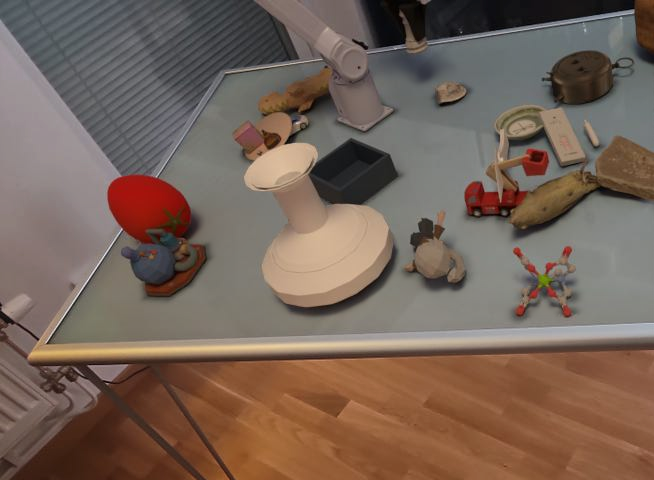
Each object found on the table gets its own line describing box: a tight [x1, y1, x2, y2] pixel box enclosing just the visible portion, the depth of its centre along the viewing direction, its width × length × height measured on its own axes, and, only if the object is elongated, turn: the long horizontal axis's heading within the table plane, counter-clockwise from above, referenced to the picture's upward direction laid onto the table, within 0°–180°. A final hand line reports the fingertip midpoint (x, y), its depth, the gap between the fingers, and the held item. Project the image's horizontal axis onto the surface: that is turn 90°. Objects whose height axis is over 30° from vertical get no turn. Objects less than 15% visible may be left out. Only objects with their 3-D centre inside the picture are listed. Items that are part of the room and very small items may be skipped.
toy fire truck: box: [463, 147, 550, 218], centre depth 91 cm, size 3×14×10 cm, turn 75°
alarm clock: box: [540, 49, 635, 105], centre depth 111 cm, size 11×5×16 cm
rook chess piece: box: [399, 9, 429, 56], centre depth 117 cm, size 4×4×8 cm
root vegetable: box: [507, 159, 602, 230], centre depth 91 cm, size 5×20×5 cm
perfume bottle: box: [231, 112, 292, 162], centre depth 122 cm, size 12×12×4 cm
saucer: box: [493, 104, 547, 141], centre depth 107 cm, size 10×10×2 cm
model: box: [120, 229, 207, 297], centre depth 101 cm, size 12×9×9 cm
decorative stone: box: [594, 134, 654, 202], centre depth 90 cm, size 10×6×15 cm
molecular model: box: [512, 245, 577, 317], centre depth 79 cm, size 7×8×7 cm
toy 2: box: [404, 210, 467, 283], centre depth 89 cm, size 11×8×15 cm
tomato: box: [106, 174, 192, 246], centre depth 107 cm, size 13×11×14 cm
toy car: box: [289, 114, 309, 137], centre depth 125 cm, size 4×12×3 cm, turn 125°
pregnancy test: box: [539, 106, 600, 167], centre depth 101 cm, size 8×12×1 cm, turn 14°
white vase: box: [243, 142, 395, 308], centre depth 88 cm, size 20×20×19 cm
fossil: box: [434, 81, 467, 105], centre depth 121 cm, size 8×4×6 cm
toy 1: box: [257, 65, 332, 116], centre depth 132 cm, size 5×12×20 cm
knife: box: [494, 129, 510, 203], centre depth 93 cm, size 26×4×1 cm
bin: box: [308, 137, 399, 205], centre depth 107 cm, size 11×11×4 cm
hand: (414, 37), depth 118 cm, fingers closed on rook chess piece, 3 cm apart
